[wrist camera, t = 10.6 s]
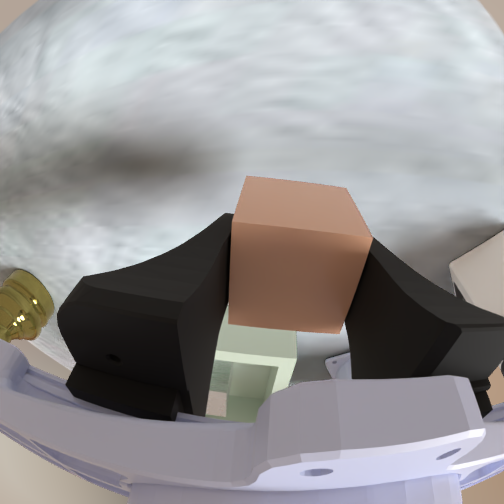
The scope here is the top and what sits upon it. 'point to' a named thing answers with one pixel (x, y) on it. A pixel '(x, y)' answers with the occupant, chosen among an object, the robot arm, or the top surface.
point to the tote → (254, 366)
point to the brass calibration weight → (23, 307)
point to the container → (482, 277)
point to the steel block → (219, 388)
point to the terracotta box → (295, 255)
